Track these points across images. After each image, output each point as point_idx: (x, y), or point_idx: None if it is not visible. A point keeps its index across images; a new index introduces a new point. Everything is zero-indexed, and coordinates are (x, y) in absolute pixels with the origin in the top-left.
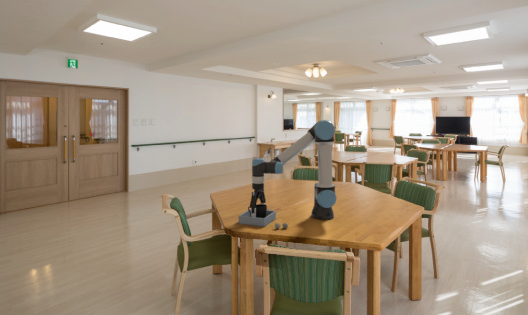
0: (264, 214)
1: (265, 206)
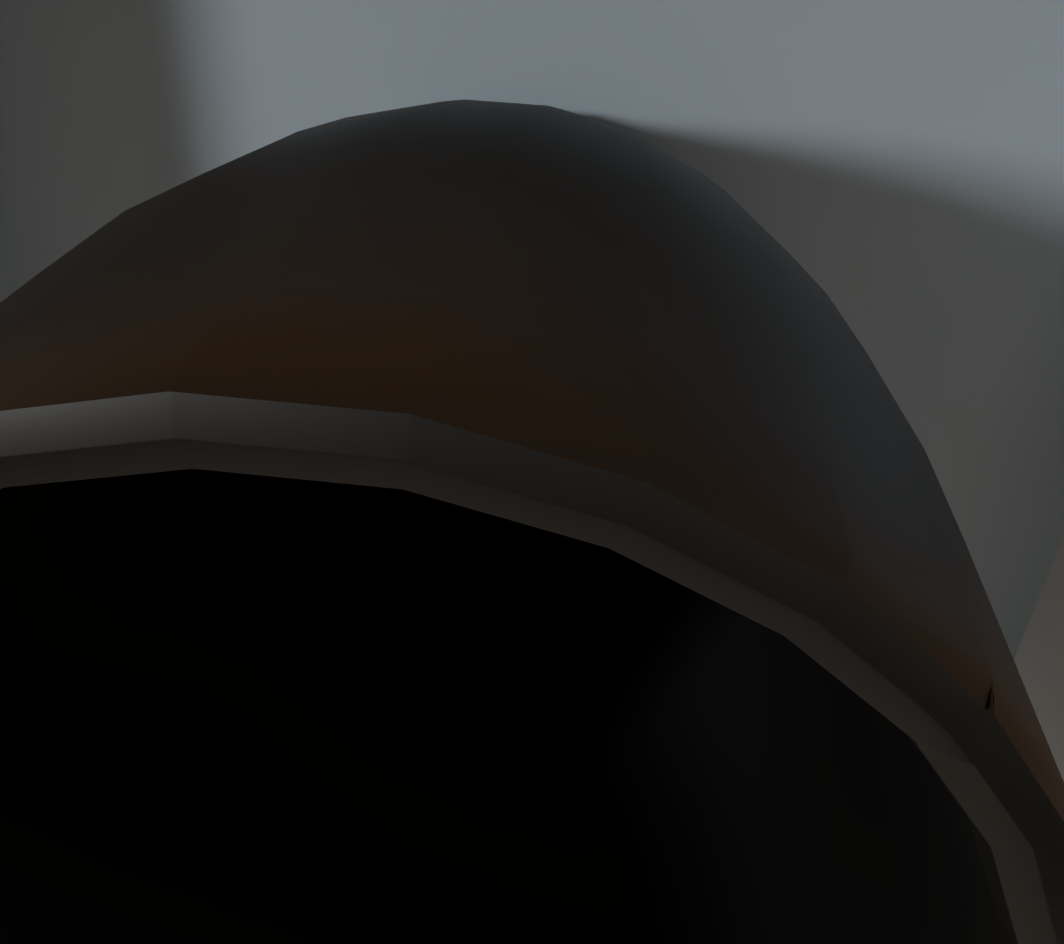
0: (688, 172)
1: (567, 425)
